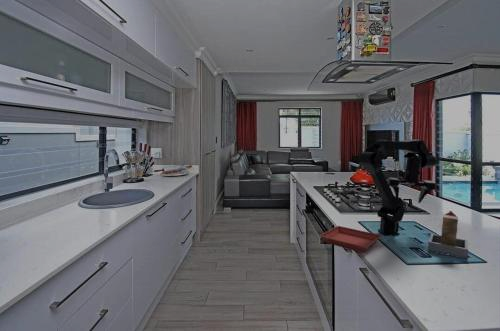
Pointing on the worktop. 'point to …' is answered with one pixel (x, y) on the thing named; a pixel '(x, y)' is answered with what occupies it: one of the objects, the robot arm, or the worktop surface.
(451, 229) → the handle block
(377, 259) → the worktop surface
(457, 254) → the box
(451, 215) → the onion
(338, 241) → the plant saucer
